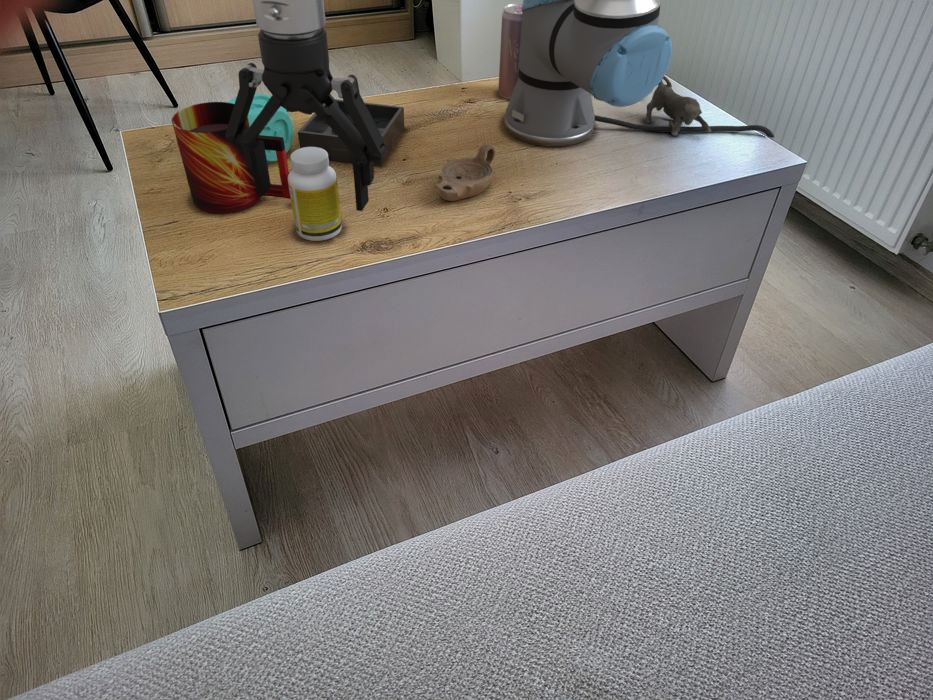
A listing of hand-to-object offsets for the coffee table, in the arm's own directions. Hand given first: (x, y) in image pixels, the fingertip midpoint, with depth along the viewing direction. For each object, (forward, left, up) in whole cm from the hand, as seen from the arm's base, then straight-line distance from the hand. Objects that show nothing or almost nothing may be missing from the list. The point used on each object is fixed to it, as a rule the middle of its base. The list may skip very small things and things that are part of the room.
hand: (312, 198), depth 94 cm
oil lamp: (-17, -16, -5) cm, 24 cm away
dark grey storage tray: (+4, -26, -5) cm, 27 cm away
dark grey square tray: (+4, -26, -5) cm, 27 cm away
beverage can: (-18, -52, -5) cm, 55 cm away
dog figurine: (-47, -45, -5) cm, 66 cm away
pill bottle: (0, 0, -5) cm, 5 cm away
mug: (+14, -6, -5) cm, 16 cm away
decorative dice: (+16, -19, -5) cm, 25 cm away
